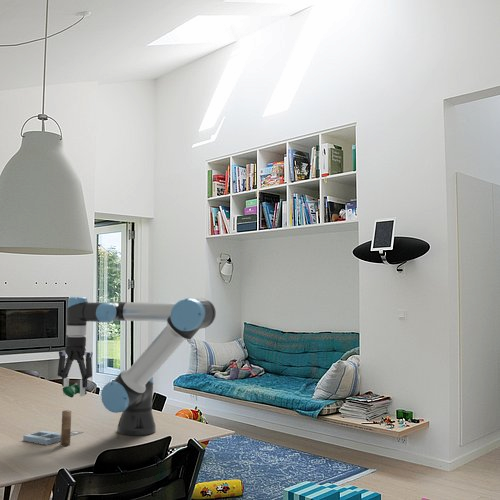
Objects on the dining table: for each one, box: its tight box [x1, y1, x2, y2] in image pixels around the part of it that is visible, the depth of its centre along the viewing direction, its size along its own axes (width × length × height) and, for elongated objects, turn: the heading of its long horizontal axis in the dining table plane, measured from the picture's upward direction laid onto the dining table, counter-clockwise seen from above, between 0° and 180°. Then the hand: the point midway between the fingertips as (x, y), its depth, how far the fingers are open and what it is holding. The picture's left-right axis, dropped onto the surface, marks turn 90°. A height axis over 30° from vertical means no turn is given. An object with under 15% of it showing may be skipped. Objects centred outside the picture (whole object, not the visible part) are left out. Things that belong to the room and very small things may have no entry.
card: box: [70, 430, 84, 437], centre depth 240 cm, size 5×10×1 cm, turn 152°
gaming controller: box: [62, 382, 88, 398], centre depth 242 cm, size 9×4×6 cm
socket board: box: [22, 430, 61, 446], centre depth 230 cm, size 12×10×2 cm
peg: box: [60, 410, 72, 447], centre depth 225 cm, size 3×3×12 cm
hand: (74, 395), depth 242 cm, fingers closed on gaming controller, 6 cm apart
